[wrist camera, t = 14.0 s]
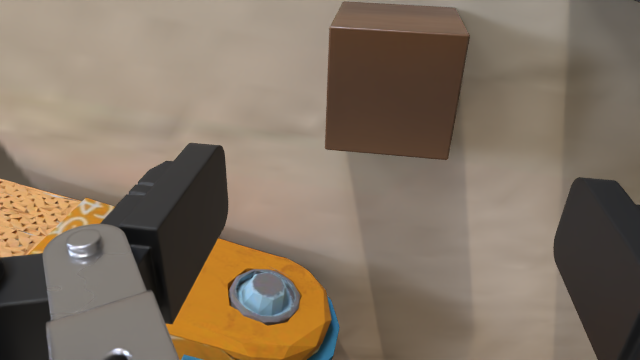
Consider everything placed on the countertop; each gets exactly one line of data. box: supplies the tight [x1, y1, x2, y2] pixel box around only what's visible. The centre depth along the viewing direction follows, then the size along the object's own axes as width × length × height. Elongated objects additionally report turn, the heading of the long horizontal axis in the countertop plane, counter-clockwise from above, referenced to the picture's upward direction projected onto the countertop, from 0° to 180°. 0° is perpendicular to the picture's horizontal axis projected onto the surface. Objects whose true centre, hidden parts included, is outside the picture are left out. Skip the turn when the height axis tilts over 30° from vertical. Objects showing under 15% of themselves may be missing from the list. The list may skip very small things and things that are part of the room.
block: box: [325, 2, 470, 160], centre depth 19 cm, size 4×4×4 cm
